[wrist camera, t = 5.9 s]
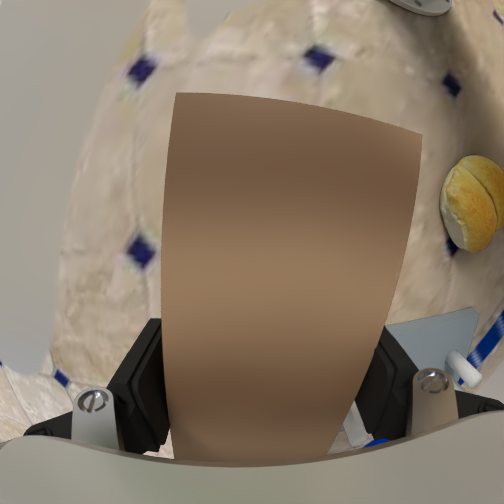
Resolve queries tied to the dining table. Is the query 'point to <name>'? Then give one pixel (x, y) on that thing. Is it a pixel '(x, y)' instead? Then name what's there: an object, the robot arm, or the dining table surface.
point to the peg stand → (430, 355)
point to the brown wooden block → (276, 270)
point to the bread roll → (473, 202)
